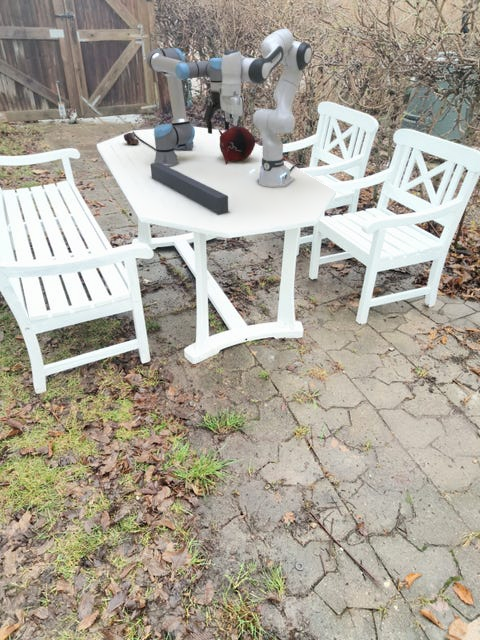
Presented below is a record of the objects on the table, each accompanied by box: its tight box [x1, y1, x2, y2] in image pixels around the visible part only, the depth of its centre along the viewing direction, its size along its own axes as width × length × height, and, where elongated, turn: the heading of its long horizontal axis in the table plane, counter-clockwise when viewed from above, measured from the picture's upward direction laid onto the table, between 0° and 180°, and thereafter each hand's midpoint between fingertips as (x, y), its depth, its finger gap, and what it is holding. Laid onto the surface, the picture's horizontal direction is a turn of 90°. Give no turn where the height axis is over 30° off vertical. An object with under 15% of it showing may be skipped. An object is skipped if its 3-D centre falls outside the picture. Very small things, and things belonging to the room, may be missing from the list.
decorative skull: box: [218, 126, 257, 165], centre depth 296 cm, size 21×24×25 cm
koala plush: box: [174, 140, 194, 151], centre depth 322 cm, size 17×18×20 cm
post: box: [149, 162, 229, 215], centre depth 244 cm, size 74×6×8 cm, turn 35°
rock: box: [123, 132, 140, 145], centre depth 336 cm, size 12×9×10 cm
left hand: (218, 131), depth 260 cm, fingers open, 13 cm apart
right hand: (231, 123), depth 212 cm, fingers open, 8 cm apart
